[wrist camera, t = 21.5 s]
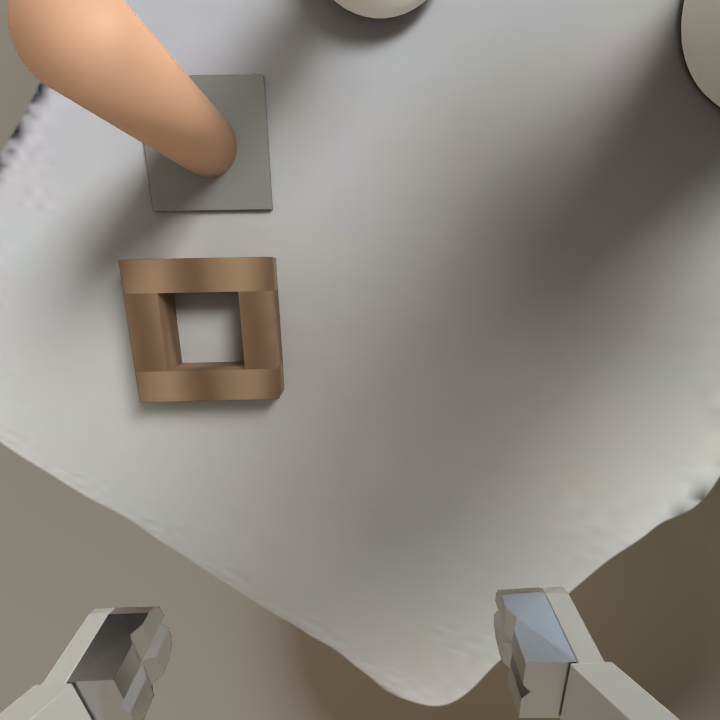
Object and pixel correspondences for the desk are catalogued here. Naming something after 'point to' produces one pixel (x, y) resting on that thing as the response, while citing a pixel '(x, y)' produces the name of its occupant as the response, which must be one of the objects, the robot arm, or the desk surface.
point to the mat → (251, 166)
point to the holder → (161, 339)
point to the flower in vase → (379, 7)
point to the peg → (122, 78)
